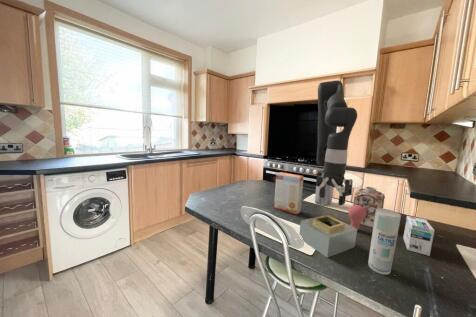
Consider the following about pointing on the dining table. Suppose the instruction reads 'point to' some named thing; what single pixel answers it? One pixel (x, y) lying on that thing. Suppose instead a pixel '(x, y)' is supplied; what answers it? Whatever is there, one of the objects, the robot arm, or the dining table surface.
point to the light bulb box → (418, 235)
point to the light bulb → (356, 215)
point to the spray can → (383, 240)
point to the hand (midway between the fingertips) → (331, 200)
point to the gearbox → (328, 235)
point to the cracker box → (288, 192)
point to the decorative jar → (369, 203)
